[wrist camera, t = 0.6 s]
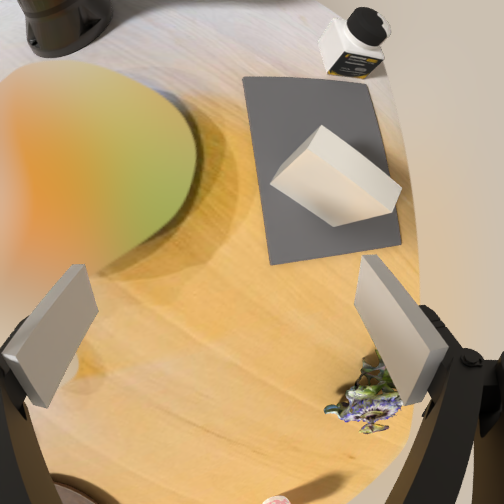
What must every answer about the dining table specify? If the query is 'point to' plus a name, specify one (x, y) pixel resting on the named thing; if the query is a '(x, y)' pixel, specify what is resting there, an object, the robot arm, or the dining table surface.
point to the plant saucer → (72, 495)
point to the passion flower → (369, 400)
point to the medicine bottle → (354, 43)
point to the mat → (289, 140)
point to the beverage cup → (277, 500)
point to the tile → (336, 181)
